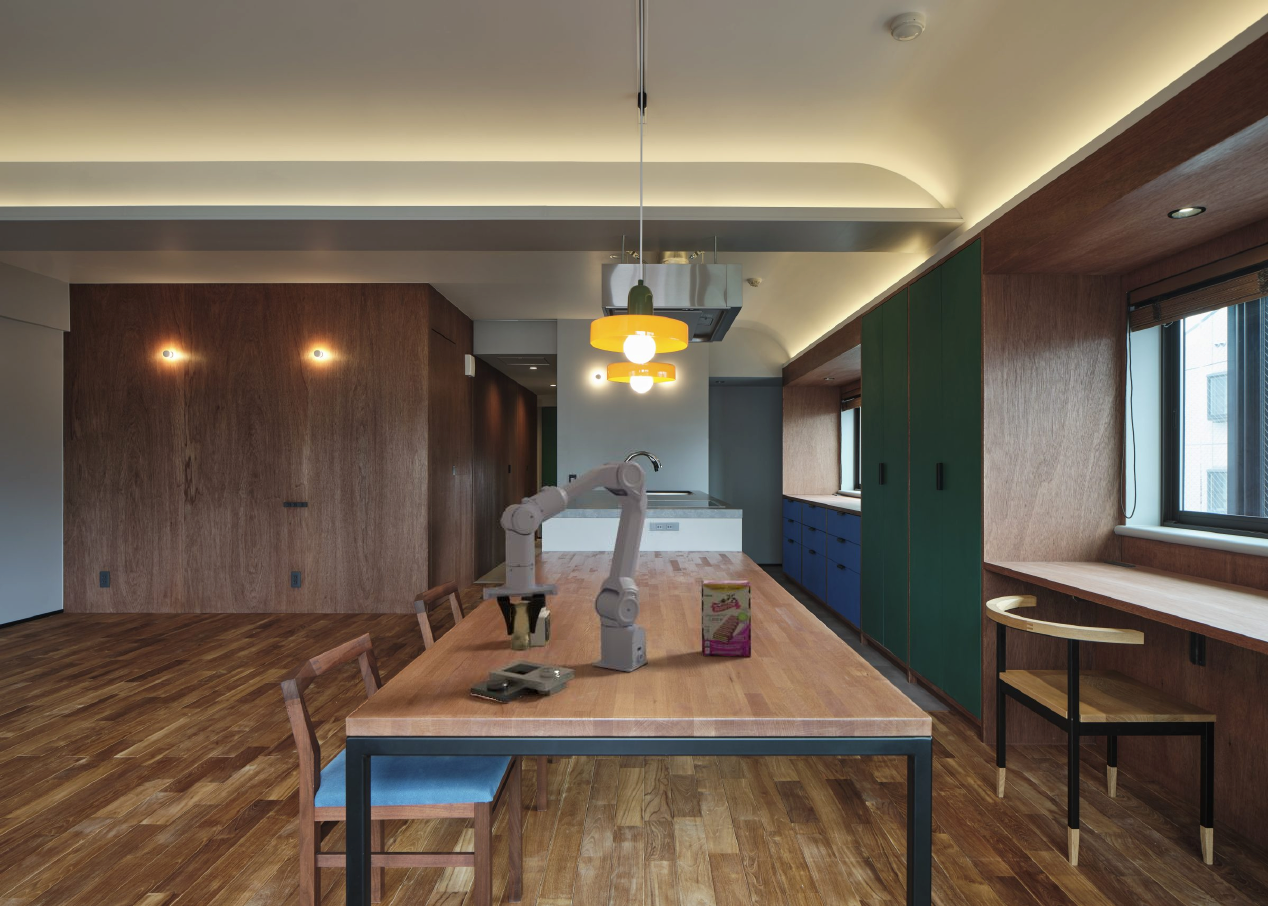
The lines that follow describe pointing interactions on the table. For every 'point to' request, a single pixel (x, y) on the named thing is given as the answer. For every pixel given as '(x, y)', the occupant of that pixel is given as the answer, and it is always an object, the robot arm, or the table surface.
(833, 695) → the table surface
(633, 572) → the robot arm
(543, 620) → the medicine bottle
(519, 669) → the grey square hole plate
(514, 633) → the brass pin
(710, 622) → the candy bar box
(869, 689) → the table surface
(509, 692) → the black base board
